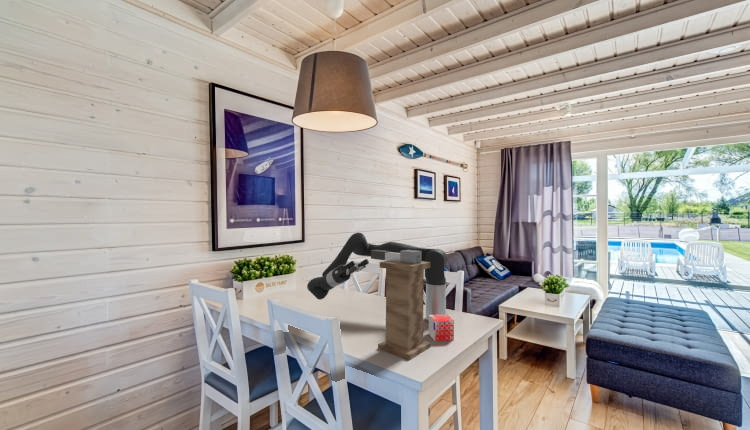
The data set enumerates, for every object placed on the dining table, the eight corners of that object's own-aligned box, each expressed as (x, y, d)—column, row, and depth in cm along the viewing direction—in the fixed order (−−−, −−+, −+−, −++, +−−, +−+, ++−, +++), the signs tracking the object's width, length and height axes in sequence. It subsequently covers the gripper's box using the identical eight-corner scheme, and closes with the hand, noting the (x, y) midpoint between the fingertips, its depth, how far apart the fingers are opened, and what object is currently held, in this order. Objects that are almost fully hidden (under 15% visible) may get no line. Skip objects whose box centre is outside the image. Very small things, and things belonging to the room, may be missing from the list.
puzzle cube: (453, 340, 127) (454, 320, 127) (434, 341, 126) (435, 321, 126) (446, 332, 135) (446, 314, 135) (428, 333, 134) (428, 314, 134)
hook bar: (377, 257, 131) (377, 246, 131) (421, 263, 118) (421, 251, 118) (369, 258, 127) (369, 247, 127) (414, 264, 114) (414, 252, 114)
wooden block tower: (399, 337, 129) (400, 258, 129) (430, 347, 120) (431, 262, 120) (377, 348, 118) (378, 262, 118) (409, 359, 109) (410, 266, 109)
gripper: (323, 270, 141) (346, 255, 132) (346, 266, 152) (369, 252, 143) (328, 286, 139) (352, 272, 129) (352, 281, 150) (375, 268, 140)
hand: (361, 261), depth 136 cm, fingers open, 8 cm apart
